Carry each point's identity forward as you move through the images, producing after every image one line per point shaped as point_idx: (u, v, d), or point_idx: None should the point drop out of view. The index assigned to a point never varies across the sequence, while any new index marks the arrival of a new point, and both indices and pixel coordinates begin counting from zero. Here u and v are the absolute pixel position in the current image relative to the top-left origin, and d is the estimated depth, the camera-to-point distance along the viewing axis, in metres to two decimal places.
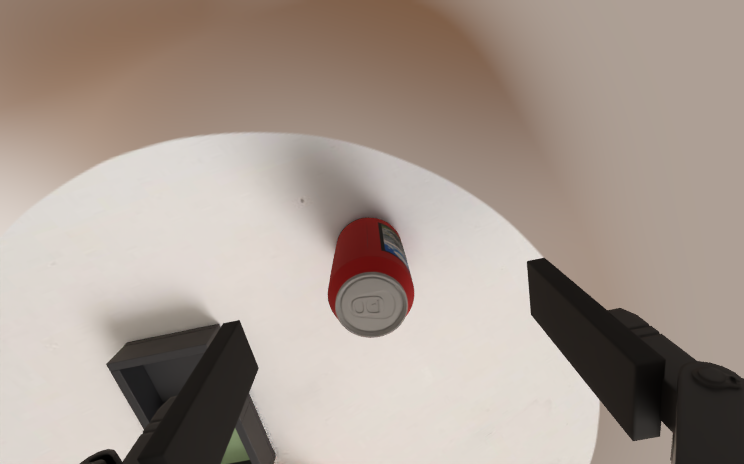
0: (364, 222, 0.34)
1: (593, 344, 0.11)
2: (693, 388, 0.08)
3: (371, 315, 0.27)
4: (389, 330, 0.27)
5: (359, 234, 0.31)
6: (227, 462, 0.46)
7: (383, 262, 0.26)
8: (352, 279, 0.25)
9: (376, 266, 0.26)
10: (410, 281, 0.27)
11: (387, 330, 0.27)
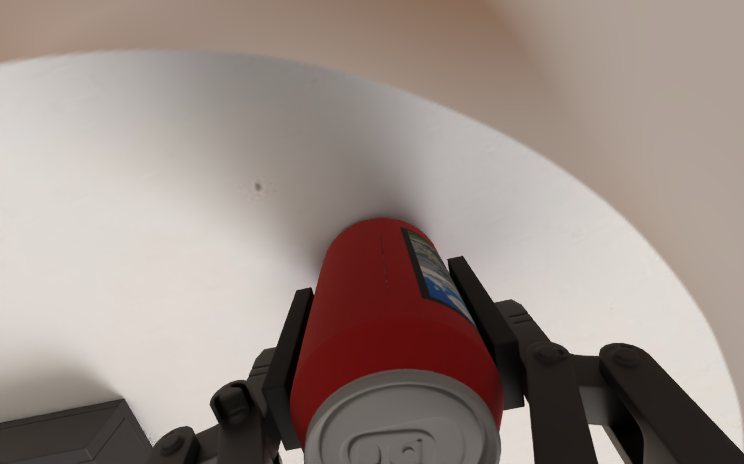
0: (375, 226, 0.18)
1: (478, 329, 0.13)
2: (536, 366, 0.10)
3: None
4: None
5: (366, 253, 0.15)
6: None
7: (434, 337, 0.10)
8: (350, 393, 0.09)
9: (418, 349, 0.09)
10: (498, 379, 0.11)
11: None
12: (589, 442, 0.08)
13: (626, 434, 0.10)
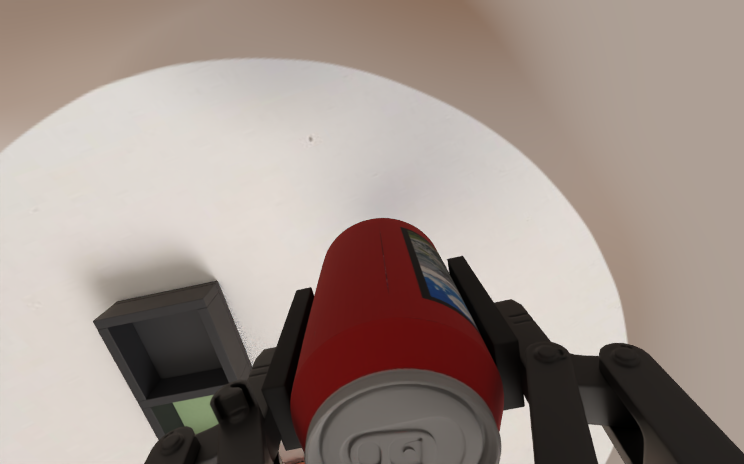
0: (375, 226, 0.18)
1: (479, 329, 0.13)
2: (536, 366, 0.10)
3: None
4: None
5: (366, 253, 0.15)
6: None
7: (434, 336, 0.10)
8: (351, 392, 0.09)
9: (418, 349, 0.09)
10: (499, 379, 0.11)
11: None
12: (589, 442, 0.08)
13: (626, 434, 0.10)
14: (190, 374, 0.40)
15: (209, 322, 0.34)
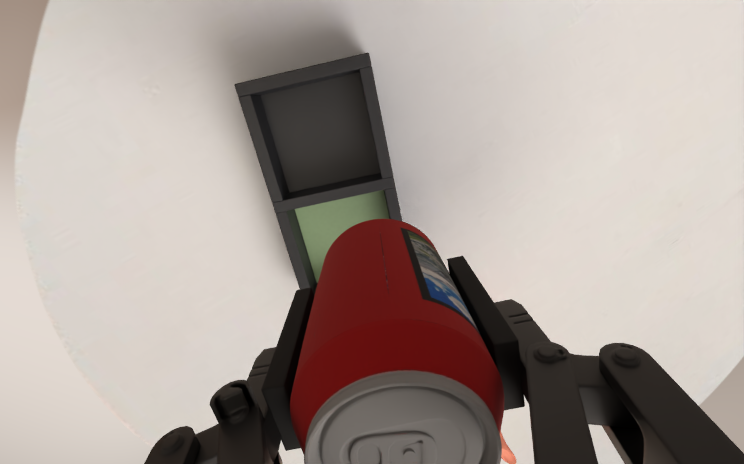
0: (375, 227, 0.18)
1: (478, 329, 0.13)
2: (536, 366, 0.10)
3: None
4: None
5: (366, 254, 0.15)
6: None
7: (434, 338, 0.10)
8: (351, 394, 0.09)
9: (418, 351, 0.09)
10: (499, 380, 0.11)
11: None
12: (589, 442, 0.08)
13: (626, 434, 0.10)
14: (324, 185, 0.34)
15: (372, 89, 0.29)
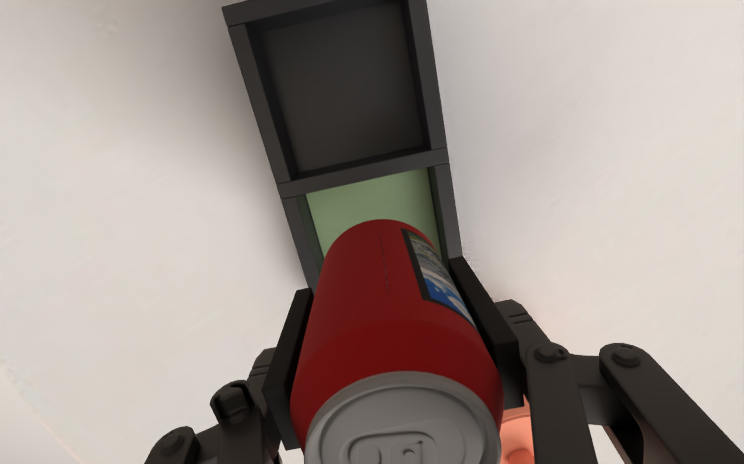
0: (375, 227, 0.18)
1: (479, 330, 0.13)
2: (536, 366, 0.10)
3: None
4: None
5: (366, 254, 0.15)
6: None
7: (434, 338, 0.10)
8: (351, 395, 0.09)
9: (418, 351, 0.09)
10: (499, 381, 0.11)
11: None
12: (589, 442, 0.08)
13: (626, 434, 0.10)
14: (346, 162, 0.25)
15: (422, 14, 0.20)
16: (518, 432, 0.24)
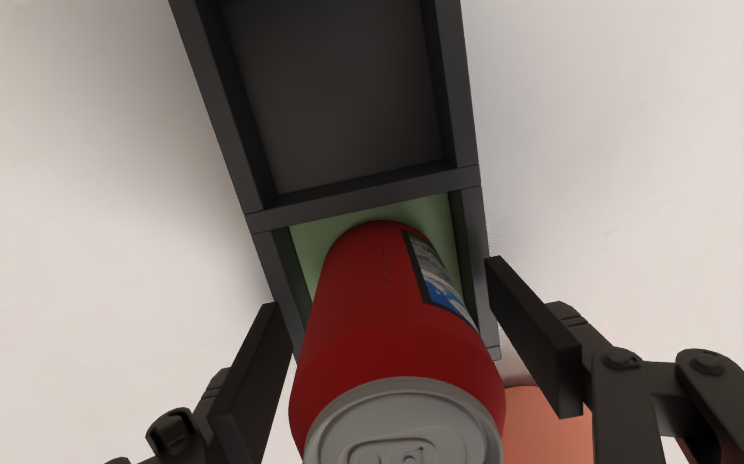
0: (375, 228, 0.18)
1: (529, 333, 0.12)
2: (604, 371, 0.09)
3: None
4: None
5: (366, 256, 0.14)
6: None
7: (435, 343, 0.10)
8: (350, 401, 0.09)
9: (419, 356, 0.09)
10: (501, 386, 0.10)
11: None
12: (661, 459, 0.07)
13: (701, 445, 0.09)
14: (341, 181, 0.19)
15: None
16: None
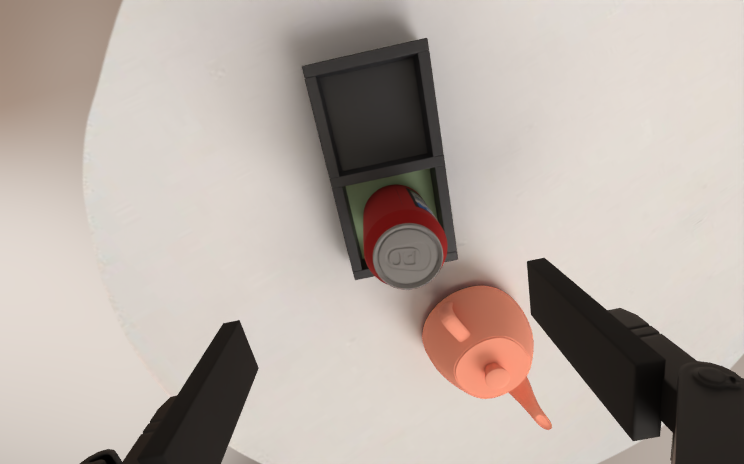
0: (393, 187, 0.35)
1: (593, 344, 0.11)
2: (693, 388, 0.08)
3: (407, 267, 0.27)
4: (424, 282, 0.28)
5: (390, 195, 0.32)
6: None
7: (419, 215, 0.27)
8: (391, 229, 0.26)
9: (414, 218, 0.27)
10: (444, 235, 0.28)
11: (422, 282, 0.28)
12: None
13: None
14: (374, 164, 0.37)
15: (428, 71, 0.31)
16: (491, 349, 0.36)
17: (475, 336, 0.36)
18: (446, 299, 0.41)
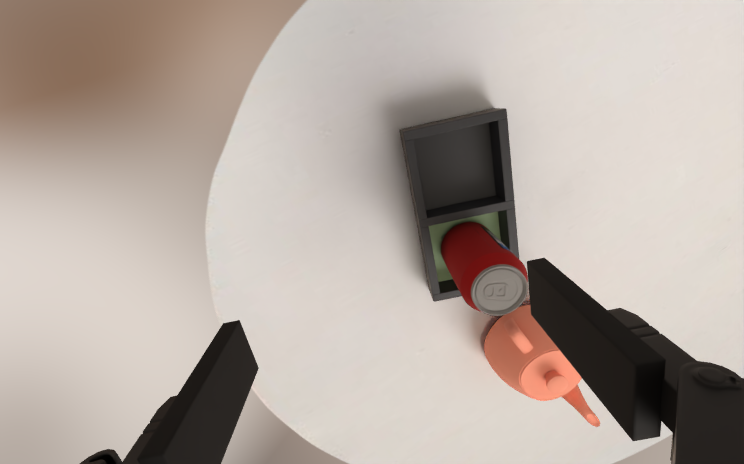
0: (469, 225, 0.42)
1: (593, 344, 0.11)
2: (693, 388, 0.08)
3: (497, 298, 0.34)
4: (510, 310, 0.35)
5: (473, 235, 0.39)
6: None
7: (508, 257, 0.34)
8: (488, 270, 0.33)
9: (504, 259, 0.34)
10: (526, 272, 0.35)
11: (509, 310, 0.35)
12: None
13: None
14: (451, 205, 0.44)
15: (505, 134, 0.38)
16: (551, 360, 0.43)
17: (537, 348, 0.43)
18: (507, 316, 0.48)
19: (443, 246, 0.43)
